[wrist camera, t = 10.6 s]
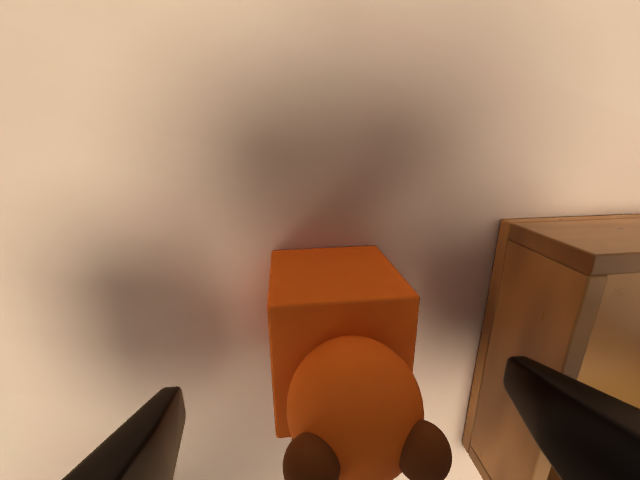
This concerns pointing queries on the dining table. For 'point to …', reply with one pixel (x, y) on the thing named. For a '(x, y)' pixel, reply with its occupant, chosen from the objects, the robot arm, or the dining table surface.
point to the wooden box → (554, 327)
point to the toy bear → (348, 368)
